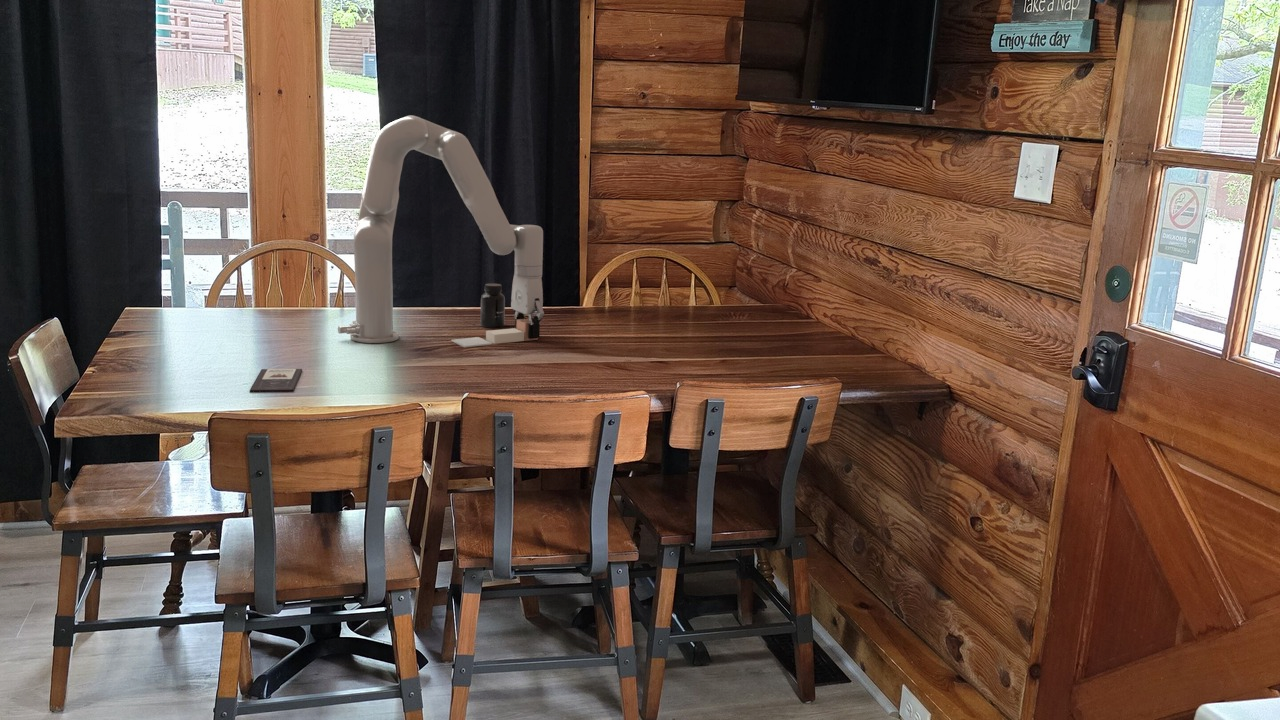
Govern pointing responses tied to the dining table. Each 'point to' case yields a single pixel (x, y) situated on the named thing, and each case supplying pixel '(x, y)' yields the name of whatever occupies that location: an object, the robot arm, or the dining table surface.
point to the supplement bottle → (492, 306)
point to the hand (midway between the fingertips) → (527, 335)
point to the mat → (471, 342)
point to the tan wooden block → (524, 328)
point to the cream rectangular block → (505, 335)
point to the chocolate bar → (276, 380)
